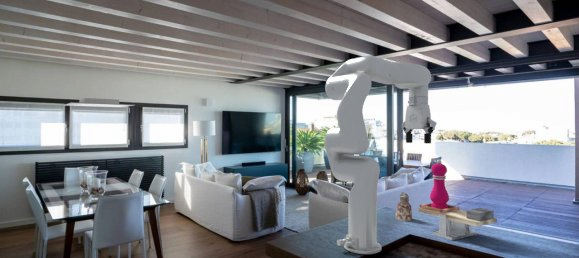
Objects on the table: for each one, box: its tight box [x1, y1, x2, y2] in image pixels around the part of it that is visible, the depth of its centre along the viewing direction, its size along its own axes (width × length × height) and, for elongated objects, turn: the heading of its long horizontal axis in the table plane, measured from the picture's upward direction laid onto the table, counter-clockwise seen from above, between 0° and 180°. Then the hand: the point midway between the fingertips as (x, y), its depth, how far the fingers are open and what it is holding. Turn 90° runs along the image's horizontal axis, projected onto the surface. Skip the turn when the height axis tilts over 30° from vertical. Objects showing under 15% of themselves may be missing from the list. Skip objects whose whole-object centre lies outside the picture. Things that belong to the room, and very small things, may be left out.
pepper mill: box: [429, 159, 450, 209], centre depth 137 cm, size 7×7×20 cm
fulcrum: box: [433, 209, 478, 241], centre depth 129 cm, size 15×8×8 cm, turn 118°
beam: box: [418, 202, 498, 227], centre depth 129 cm, size 12×25×4 cm, turn 28°
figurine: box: [395, 191, 413, 222], centre depth 152 cm, size 7×7×12 cm
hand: (418, 143), depth 138 cm, fingers open, 9 cm apart
